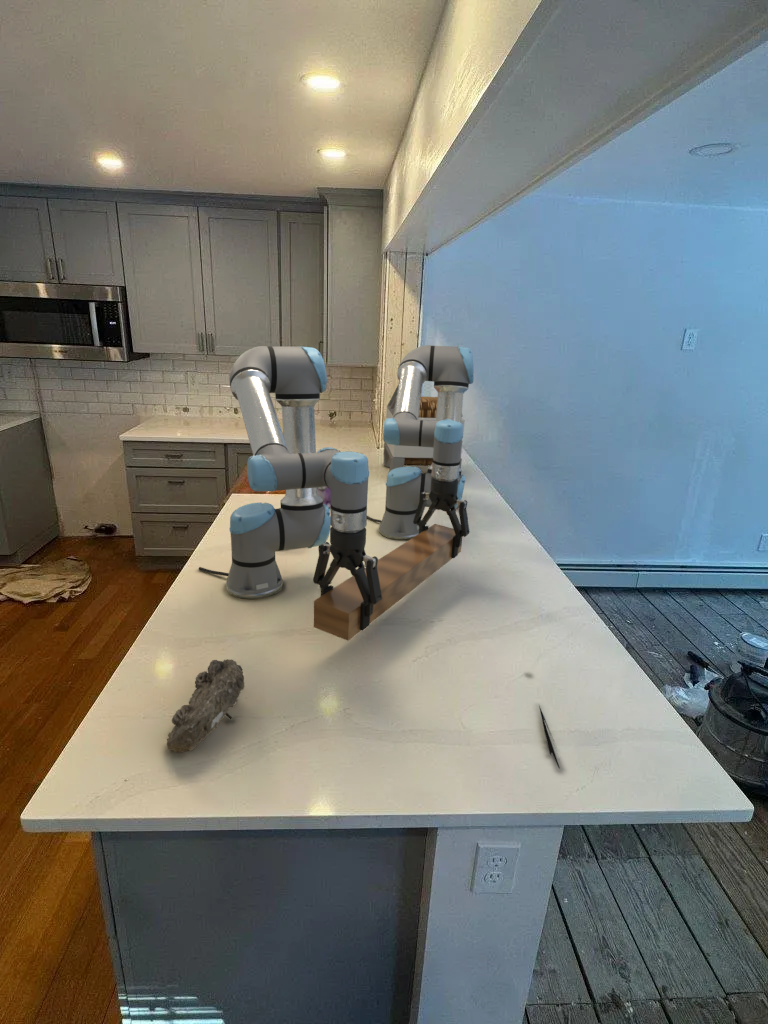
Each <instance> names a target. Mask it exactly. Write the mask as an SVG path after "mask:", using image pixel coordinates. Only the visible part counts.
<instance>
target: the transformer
mask: <svg viewBox="0 0 768 1024" xmlns="http://www.w3.org/2000/svg"><path fill="white" fill-rule="evenodd" d="M397 390H398V385H397V386H396V388H395V390H394V392H393V394H392V395H391V398H390V400H389V402H388V404H387V405H386V413H385V414H386V415H385V420H386V419H387V418H393V414H394V408H395V402H396V396H397ZM437 398H438V396H421V400H420V409H419V417H418V420H424V421H436V411H437ZM461 424H462V425H463V433H464V431H465V430H464V429H465V419H464V418H463V417H461ZM463 442H464V441H463V440H462V444H463ZM462 453H463V446H462V447H461V454H462ZM462 461H463V460H462V455H461V456H460V469H461V470H462ZM432 463H433V447H420V446H400V445H398V446H396V445H392V444H386V443H385V442H384V441H383V466H384V467H388V468H389V472H390V471H391V470H393V469H395V468H399V467H405V466H406V467H417V466H418V467H429V466H430V465H431V464H432Z"/></svg>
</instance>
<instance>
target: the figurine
mask: <svg viewBox="0 0 768 1024" xmlns="http://www.w3.org/2000/svg"><path fill="white" fill-rule="evenodd" d="M317 494H318V495H319V496H320V497H321V498H322V499H323V504H325V505H327V506H328V508H329V509H331V490H330V489H329V488H328V487H317Z"/></svg>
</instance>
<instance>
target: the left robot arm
mask: <svg viewBox="0 0 768 1024" xmlns="http://www.w3.org/2000/svg"><path fill="white" fill-rule="evenodd" d="M228 380H229V387H230V391H231V394H232V396H233V397H234V398H235V399H236V401H237V402H238V405H239V409H240V413H241V415H242V419H243V423H244V426H245V430H246V434H247V438H248V441H249V444H250V445H249V446H250V449H251V453H252V455H251V456H249V457H248V458H247V463H246V470H247V471H246V473H247V480H248V481H247V482H248V486H249V488H250V489H251V490H252V491H254V492H271V493H272V492H278V491H285V495H284V496H283V498H281V500H280V507H279V508H275V507H274V505H273V504H272V503H269V502H252V503H247V504H244V505H242V506H239V507H237V508H236V509H235V510H234V511H232V512H231V514H230V518H229V532H230V547H231V548H230V549H231V565H230V568H229V572H224V571H217V570H212V569H209V568H205V567H201V566H199V567H198V571H201V572H203V573H208V574H212V575H218V576H223V577H227V578H226V581H225V585H226V586H225V587H226V591H227V593H228V594H229V595H230V596H232V597H235V598H238V599H243V600H260V599H265V598H266V599H267V598H269V597H271V596H274V595H277V593H279V592H280V591H281V590H282V588H283V586H284V585H283V576H282V573H281V571H280V569H279V566H278V563H277V561H276V552H281V551H282V552H284V551H291V550H299V549H300V550H301V549H312V548H315V547H318V548H317V549H318V557H317V562H316V565H315V566H316V567H315V569H314V575H313V579H312V582H313V584H314V585H318V586H319V588H320V597H321V596H322V595H324V594H325V593H327V592H328V591H330V590H332V589H333V588H334V585H331V584H332V583H333V582H332V581H333V580H334V578H335V576H336V574H337V573H338V571H339V570H340V568H342V569H346V570H347V571H350V574H351V576H354V577H355V580H356V583H357V585H358V588H359V590H360V593H361V595H362V598H363V600H364V601H363V602H362V603H361V611H360V630H361V632H363V631H364V630H366V629H367V628H369V627H370V624H371V623H370V616H371V615H372V614H373V604H376V603H377V602H379V601H380V600H381V599H382V594H381V588H380V582H379V576H378V571H377V563H378V560H379V558H378V557H377V556H369V555H367V553H366V551H365V548H366V543H367V528H366V527H367V526H368V525H367V524H368V523H367V522H368V521H367V520H368V519H367V516H368V495H369V494H368V492H369V478H370V469H369V458H368V457H367V455H365V454H364V453H362V452H361V453H360V452H358V451H349V450H348V451H341V450H338V449H337V448H334V447H329V446H327V447H323V448H320V449H318V450H317V447H316V445H317V443H316V414H315V406H316V404H318V402H319V401H320V400H321V395H320V394H322V393H324V392H325V391H326V390H327V383H328V377H327V368H326V363H325V361H324V358H323V356H322V354H321V352H320V351H319V350H318V349H317V348H315V347H309V346H299V345H298V346H278V345H277V346H272V345H271V346H270V345H269V346H267V345H260V346H259V345H258V346H254V347H252V348H250V349H249V348H248V350H246V351H244V352H243V353H242V354H240V355H239V356H238V358H237V359H236V360H235V362H234V363H233V365H232V367H231V370H230V373H229V379H228ZM271 394H274V395H275V397H274V398H275V401H276V402H277V403H278V404H279V405H280V406H281V418H282V421H281V422H282V427H281V424H280V422H279V418H278V415H277V412H276V409H275V406H274V404H273V403H274V402H273V400H272V396H271ZM316 450H317V451H316ZM317 487H328V488H329V489H330V490H331V508H328V506H327V505H325V504H323V499H322V498H321V497H320V496H319V495H318V494H317ZM328 539H329V542H328ZM330 555H331V556H332V558H333V559H332V560H331V562H330V564H329V559H330ZM328 564H329V567H328ZM327 567H328V569H327ZM365 568H366V574H367V576H366V574H365Z"/></svg>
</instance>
